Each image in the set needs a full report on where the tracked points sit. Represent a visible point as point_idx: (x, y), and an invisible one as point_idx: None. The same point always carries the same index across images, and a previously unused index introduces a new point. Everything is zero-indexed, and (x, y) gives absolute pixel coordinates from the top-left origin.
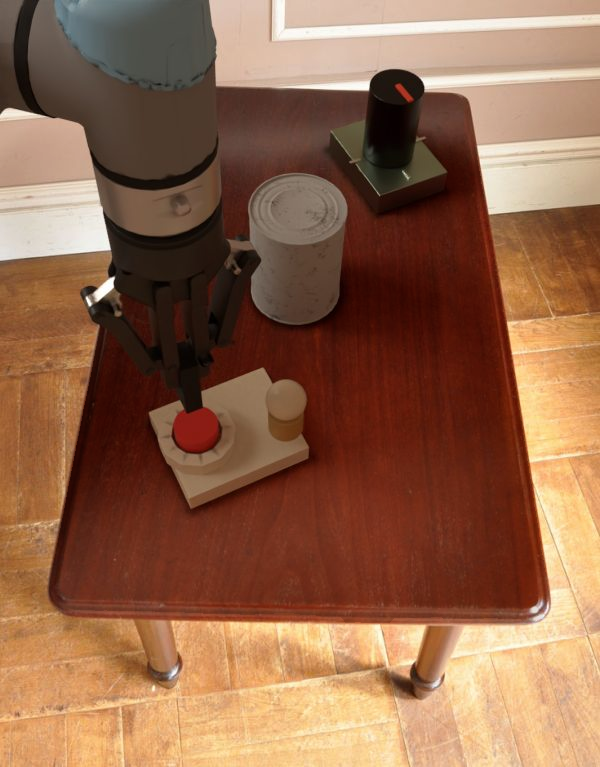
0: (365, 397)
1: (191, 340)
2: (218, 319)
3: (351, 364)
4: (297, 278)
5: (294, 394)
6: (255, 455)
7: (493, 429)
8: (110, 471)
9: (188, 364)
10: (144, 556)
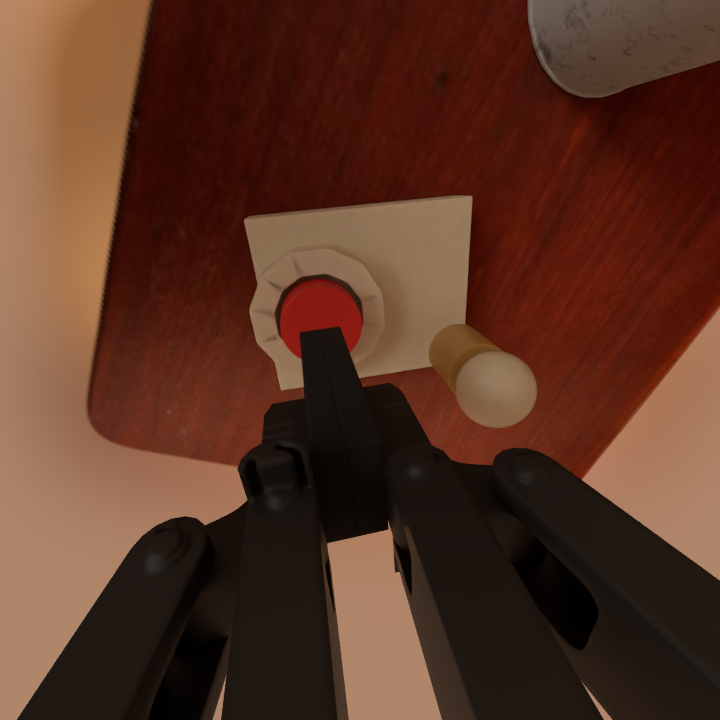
0: (563, 283)
1: (415, 605)
2: (602, 673)
3: (583, 219)
4: (704, 35)
5: (520, 420)
6: (391, 353)
7: (647, 370)
8: (167, 284)
9: (358, 524)
10: (209, 416)
